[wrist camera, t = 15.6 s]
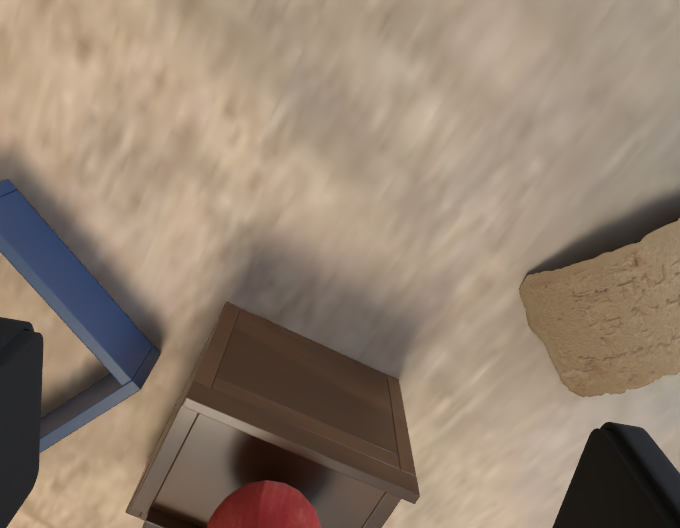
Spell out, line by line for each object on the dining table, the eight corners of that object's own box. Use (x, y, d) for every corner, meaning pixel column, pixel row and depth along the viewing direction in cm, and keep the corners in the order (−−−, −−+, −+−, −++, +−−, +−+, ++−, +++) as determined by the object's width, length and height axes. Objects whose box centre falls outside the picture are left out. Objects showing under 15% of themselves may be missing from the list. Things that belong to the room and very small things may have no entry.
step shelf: (304, 532, 47) (293, 679, 36) (144, 468, 45) (83, 604, 34) (399, 380, 42) (420, 496, 31) (226, 301, 40) (185, 396, 29)
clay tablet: (567, 396, 43) (582, 418, 40) (513, 276, 40) (525, 292, 37) (773, 308, 40) (802, 326, 38) (732, 174, 37) (761, 184, 35)
